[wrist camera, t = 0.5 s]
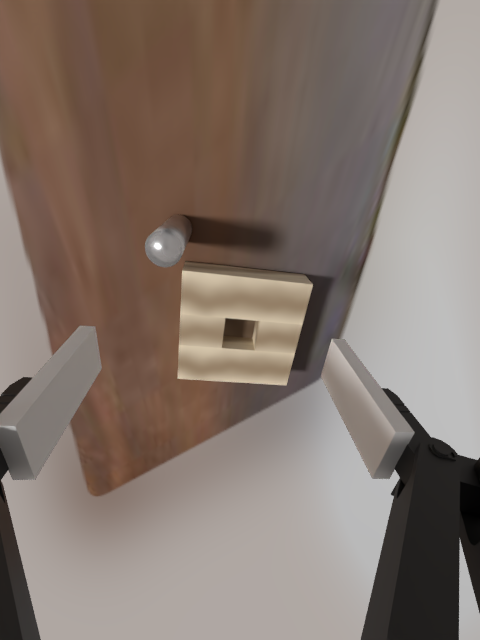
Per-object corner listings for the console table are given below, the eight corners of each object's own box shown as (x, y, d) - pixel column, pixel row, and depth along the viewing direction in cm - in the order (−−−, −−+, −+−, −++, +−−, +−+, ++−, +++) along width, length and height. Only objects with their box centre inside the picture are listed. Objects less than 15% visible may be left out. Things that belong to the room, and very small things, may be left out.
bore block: (185, 261, 36) (182, 270, 33) (304, 274, 38) (313, 284, 35) (180, 362, 43) (177, 378, 40) (281, 368, 45) (286, 385, 42)
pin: (165, 212, 34) (144, 228, 24) (192, 216, 34) (182, 233, 24) (165, 239, 35) (145, 265, 25) (191, 243, 35) (181, 268, 26)
